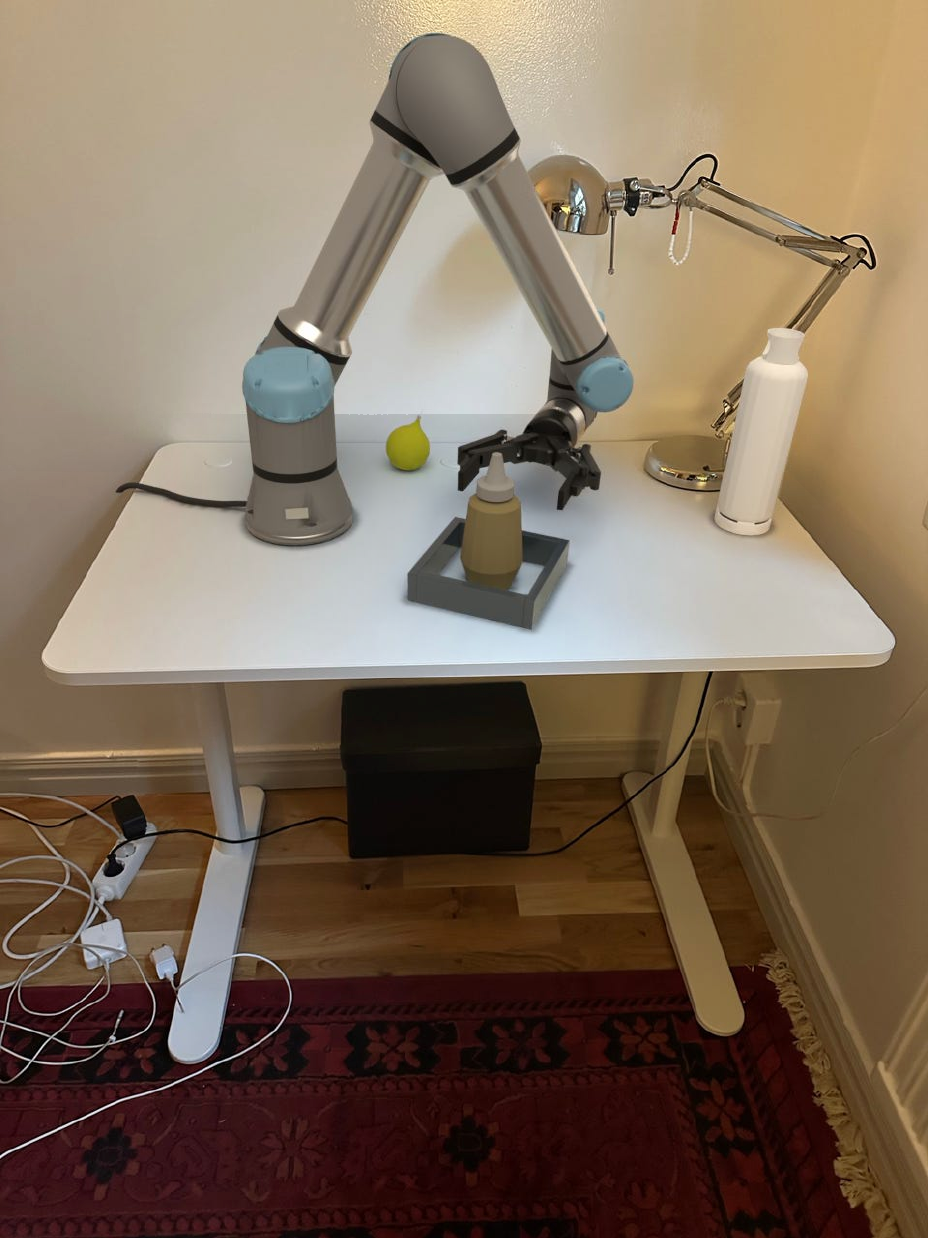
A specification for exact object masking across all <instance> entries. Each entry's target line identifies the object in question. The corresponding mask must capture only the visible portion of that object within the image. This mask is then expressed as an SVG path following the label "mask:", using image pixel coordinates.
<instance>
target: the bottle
mask: <svg viewBox="0 0 928 1238" xmlns="http://www.w3.org/2000/svg"><path fill="white" fill-rule="evenodd" d="M805 336H806V334H805V333H804V332H802V331H800V330H796V329H793V328H786V327H773V328H769V329H767V332H766V337H767V343H766V346H765V348H764V350H763V351H762V353H761V356H758V357H756V358H754V359H753V360H751V361H749V363H748V365H746V367H745V368H746V369H745V374H744V378H743V382H742V387H741V391H740V396H739V401H738V407H737V411H736V415H735V420H734V425H733V429H732V434H731V438H730V443H729V448H728V453H727V457H726V461H725V465H724V466H725V467H724V470H723V476H722V480H721V486H720V489H719V494H718V499H717V506H716V509H715V514H714V518H713V521H714V523H715V524H716V526H718V527H719V528H721V529H722V530H725V531H726V532H729V533H733V534H736V535H741V536H759V535H763V534H765V533H767V532H768V531H769V530H770V528H771V524H772V520H773V515H774V512H775V507H776V504H777V500H778V496H779V492H780V489H781V485H782V480H783V477H784V474H785V470H786V469H785V468H786V465H787V461H788V457H789V453H790V449H791V446H792V441H793V438H794V434H795V430H796V426H797V422H798V418H799V414H800V410H801V406H802V402H803V399H804V395H805V391H806V387H807V382H808V378H809V372H808V369H807V368H806V367H805V365H804V364H803V363H802V362H801V361H800V356H799V350H800V348H801V345H802V343H804V340H805Z"/></svg>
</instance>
